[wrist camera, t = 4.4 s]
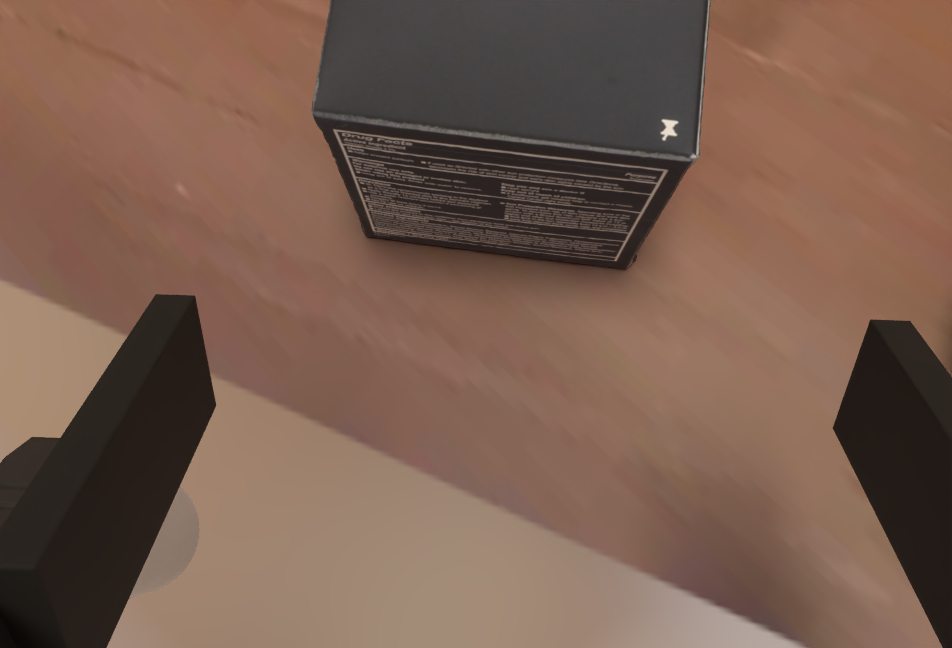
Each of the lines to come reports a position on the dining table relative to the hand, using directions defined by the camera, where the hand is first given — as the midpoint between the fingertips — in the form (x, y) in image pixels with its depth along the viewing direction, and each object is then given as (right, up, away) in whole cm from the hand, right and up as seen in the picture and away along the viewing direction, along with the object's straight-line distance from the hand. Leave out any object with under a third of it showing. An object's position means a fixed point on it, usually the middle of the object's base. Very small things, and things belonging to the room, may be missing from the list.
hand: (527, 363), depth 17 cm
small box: (0, +6, +16) cm, 17 cm away
